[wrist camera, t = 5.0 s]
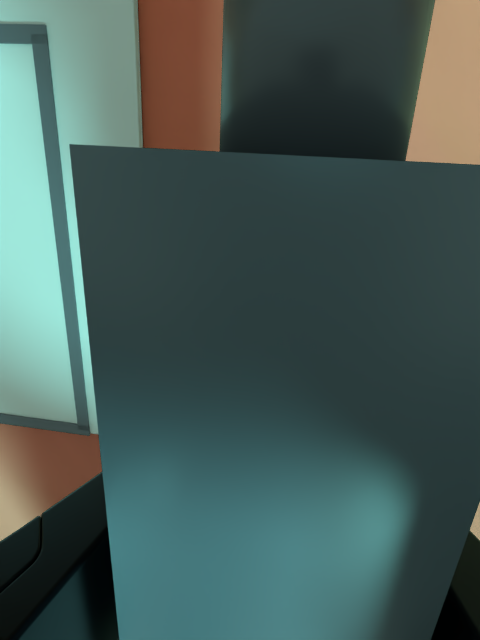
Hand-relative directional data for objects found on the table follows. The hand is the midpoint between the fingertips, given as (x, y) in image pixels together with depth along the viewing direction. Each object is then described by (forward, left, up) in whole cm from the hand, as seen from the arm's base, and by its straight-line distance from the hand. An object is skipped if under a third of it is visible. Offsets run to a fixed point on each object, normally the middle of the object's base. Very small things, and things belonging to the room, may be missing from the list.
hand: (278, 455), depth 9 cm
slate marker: (0, 0, -1) cm, 1 cm away
